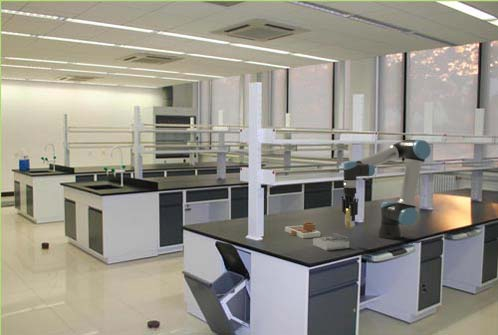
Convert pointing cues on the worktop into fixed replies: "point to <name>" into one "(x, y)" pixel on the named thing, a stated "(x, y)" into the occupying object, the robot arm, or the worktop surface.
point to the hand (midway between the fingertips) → (349, 225)
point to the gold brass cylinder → (348, 218)
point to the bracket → (304, 228)
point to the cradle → (302, 235)
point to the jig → (332, 242)
